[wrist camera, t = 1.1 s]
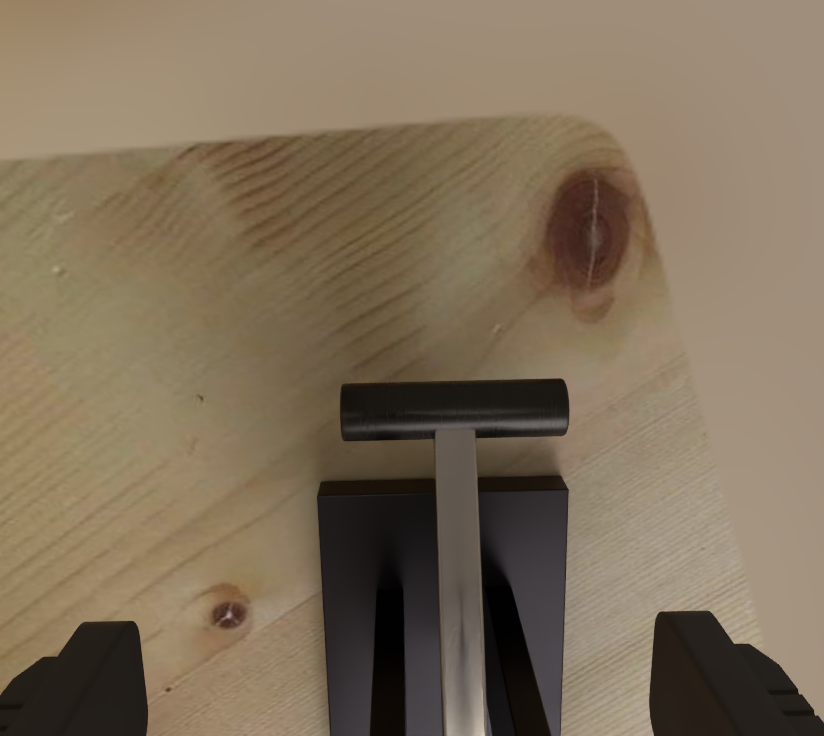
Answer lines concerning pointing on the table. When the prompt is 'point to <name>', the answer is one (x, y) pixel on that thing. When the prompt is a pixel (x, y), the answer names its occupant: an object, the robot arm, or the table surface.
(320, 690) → the table surface
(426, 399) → the lever
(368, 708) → the bracket
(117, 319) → the table surface
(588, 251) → the table surface
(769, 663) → the robot arm
